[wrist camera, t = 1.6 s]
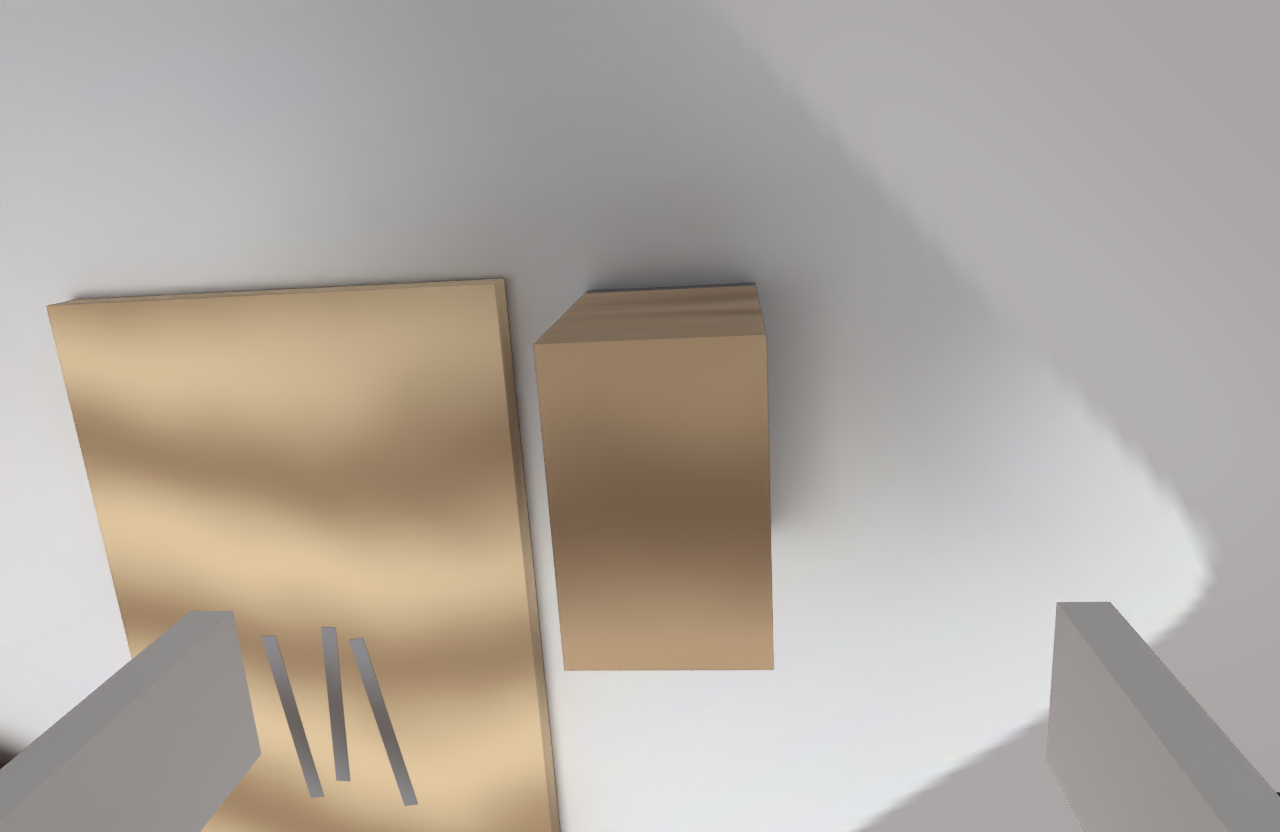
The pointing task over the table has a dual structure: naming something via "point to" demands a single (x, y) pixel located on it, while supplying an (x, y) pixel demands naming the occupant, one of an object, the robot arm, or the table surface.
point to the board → (332, 538)
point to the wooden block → (659, 478)
